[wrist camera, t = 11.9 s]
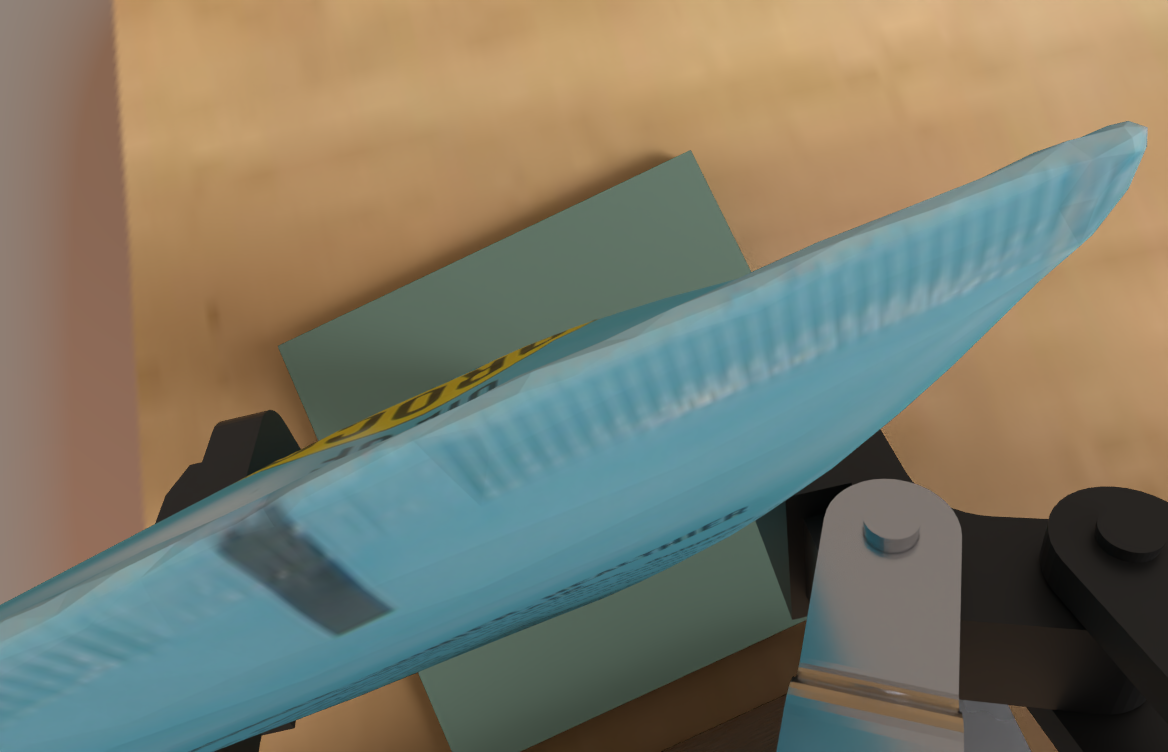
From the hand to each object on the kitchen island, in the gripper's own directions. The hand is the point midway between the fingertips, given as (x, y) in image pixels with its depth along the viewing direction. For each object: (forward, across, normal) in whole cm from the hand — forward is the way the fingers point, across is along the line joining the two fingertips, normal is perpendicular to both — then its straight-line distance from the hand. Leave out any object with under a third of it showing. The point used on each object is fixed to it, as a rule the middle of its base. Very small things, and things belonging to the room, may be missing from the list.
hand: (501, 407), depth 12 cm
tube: (+7, 0, +8) cm, 11 cm away
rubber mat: (+9, 0, +10) cm, 14 cm away
